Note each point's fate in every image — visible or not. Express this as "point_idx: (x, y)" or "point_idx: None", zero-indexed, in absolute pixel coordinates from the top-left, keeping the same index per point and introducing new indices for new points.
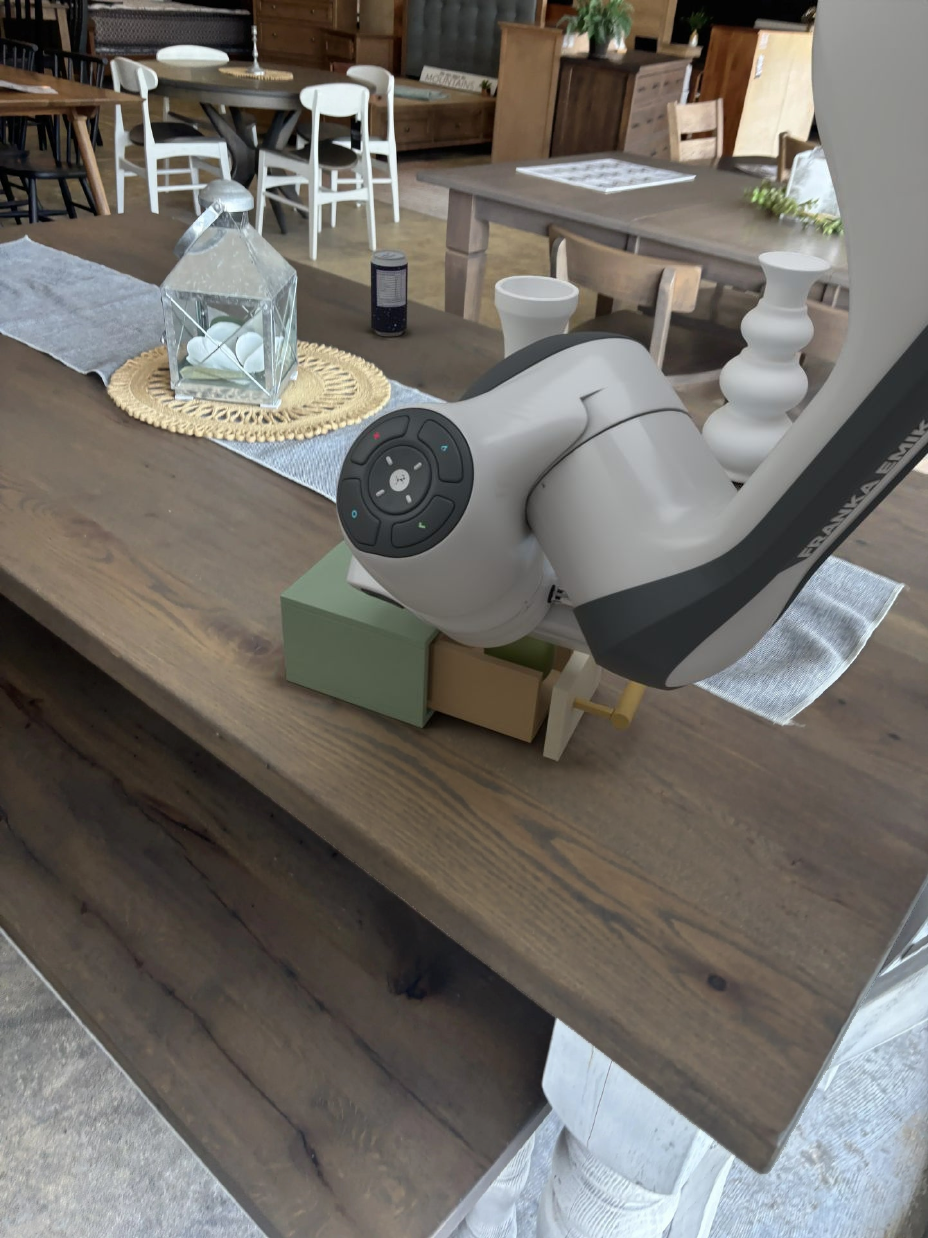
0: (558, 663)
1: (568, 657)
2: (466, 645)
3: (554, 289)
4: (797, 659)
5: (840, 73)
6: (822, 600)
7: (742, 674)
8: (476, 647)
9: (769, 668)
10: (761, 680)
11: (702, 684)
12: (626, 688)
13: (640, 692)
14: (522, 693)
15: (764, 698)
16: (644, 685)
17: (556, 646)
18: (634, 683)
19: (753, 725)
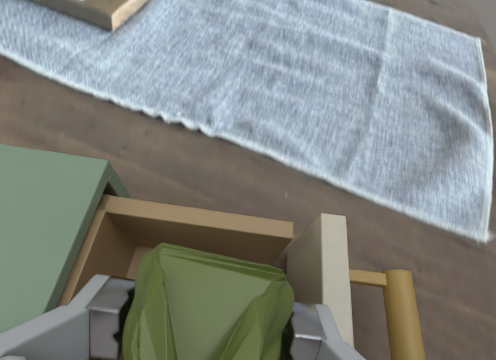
0: (258, 260)
1: (273, 258)
2: (118, 276)
3: None
4: (454, 142)
5: None
6: (438, 66)
7: (422, 177)
8: (138, 252)
9: (439, 161)
10: (440, 181)
11: (395, 204)
12: (403, 358)
13: (425, 358)
14: None
15: (454, 206)
16: (421, 333)
17: (255, 252)
18: (413, 344)
19: (463, 253)
